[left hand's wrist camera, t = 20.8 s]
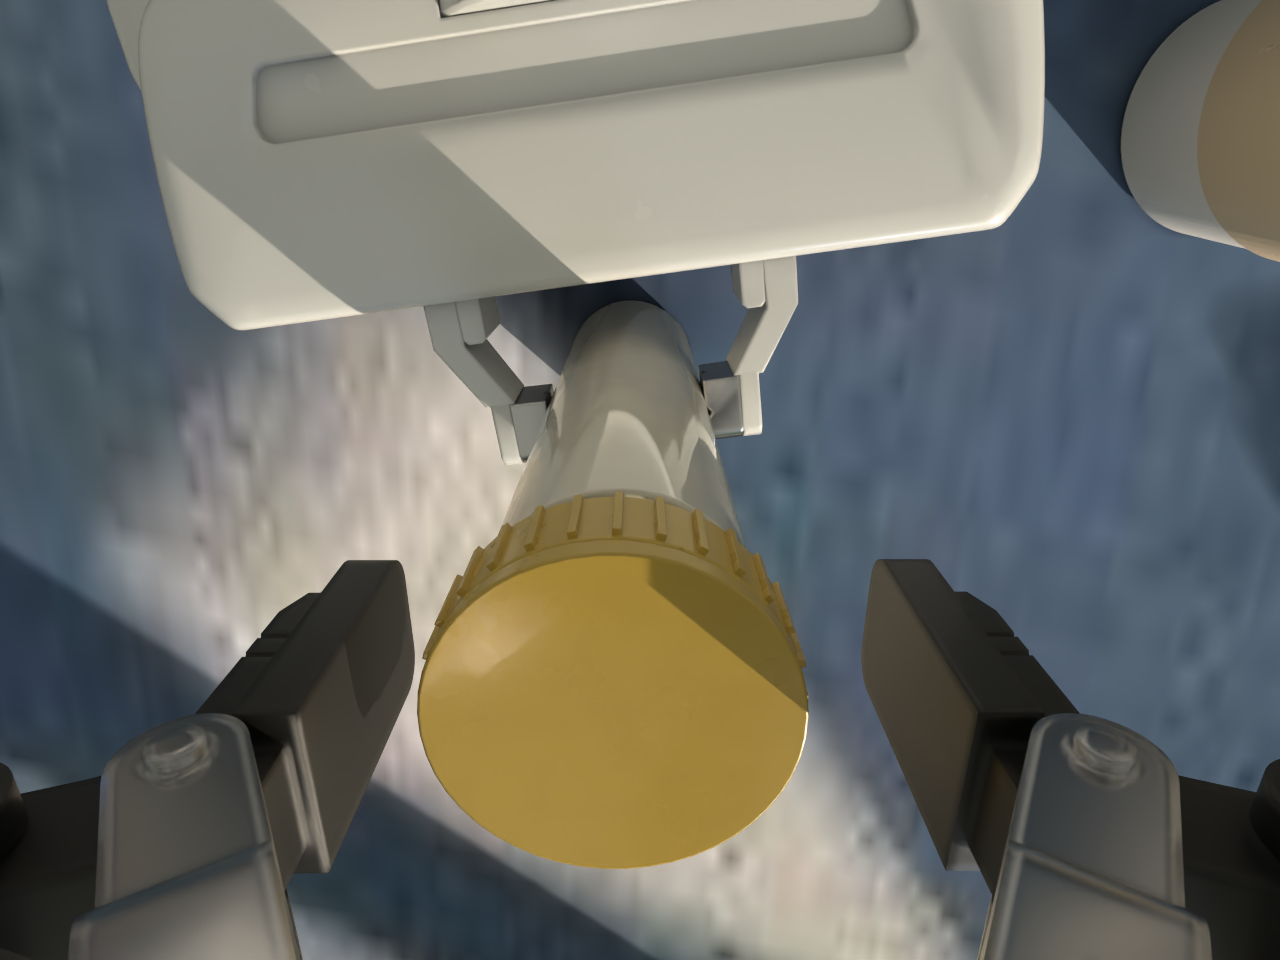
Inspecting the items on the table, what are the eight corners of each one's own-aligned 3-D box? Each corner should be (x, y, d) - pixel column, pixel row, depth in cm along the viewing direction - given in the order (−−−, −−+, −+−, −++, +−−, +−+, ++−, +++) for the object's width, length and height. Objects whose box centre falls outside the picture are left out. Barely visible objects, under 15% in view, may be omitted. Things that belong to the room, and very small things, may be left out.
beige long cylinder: (714, 376, 27) (831, 711, 10) (616, 439, 28) (580, 841, 11) (647, 275, 26) (660, 470, 9) (547, 345, 27) (388, 640, 10)
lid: (396, 524, 10) (353, 587, 8) (767, 457, 10) (791, 511, 8) (494, 803, 12) (472, 896, 10) (808, 757, 11) (833, 845, 10)
